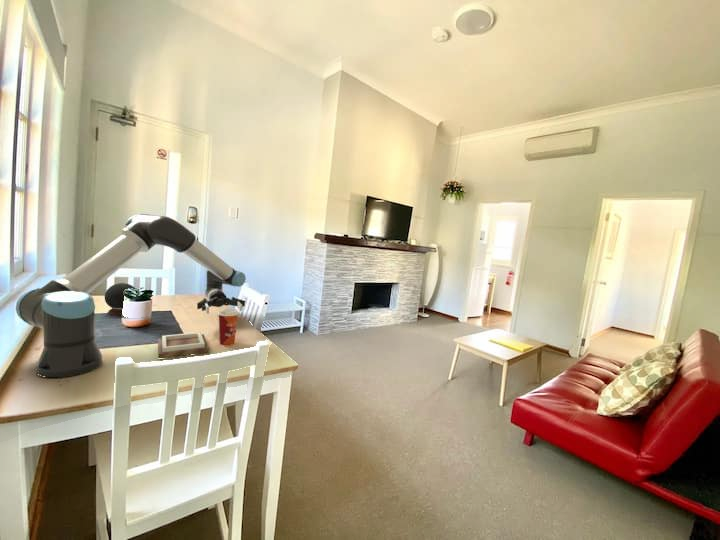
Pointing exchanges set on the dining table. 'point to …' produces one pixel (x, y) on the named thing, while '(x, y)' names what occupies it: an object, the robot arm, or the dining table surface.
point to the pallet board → (182, 345)
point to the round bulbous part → (116, 298)
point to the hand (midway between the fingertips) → (225, 309)
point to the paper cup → (227, 325)
